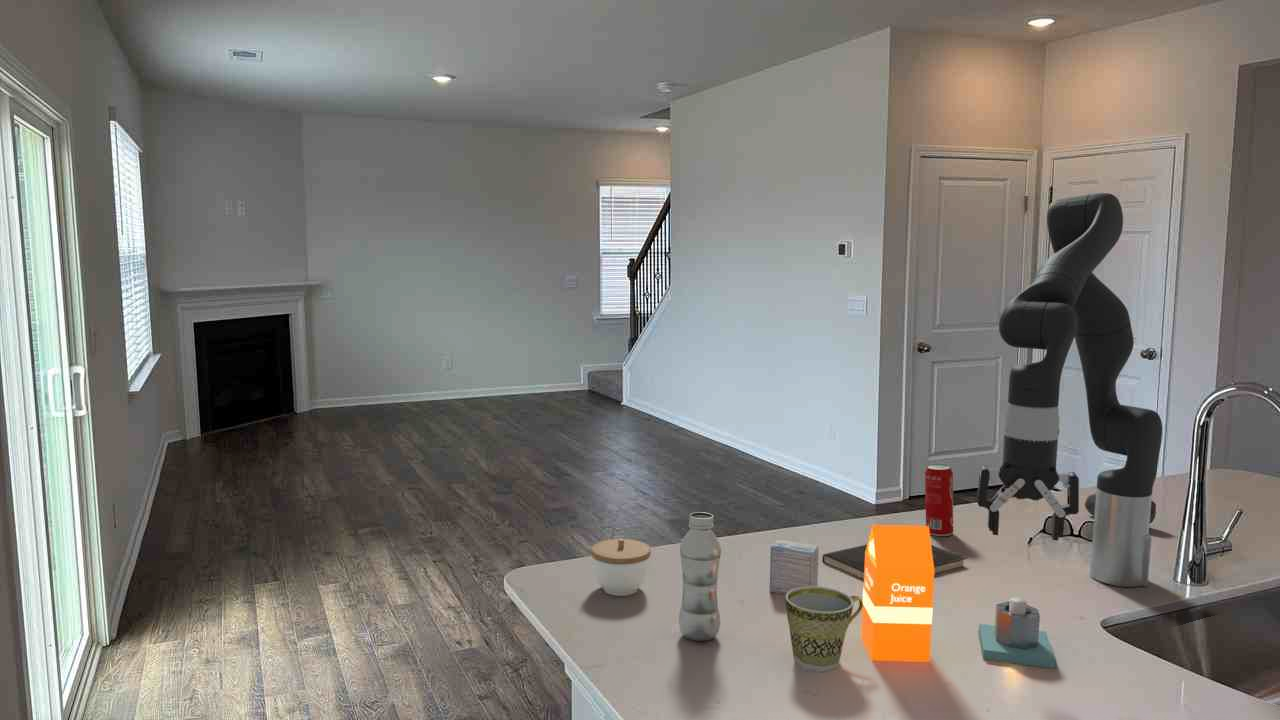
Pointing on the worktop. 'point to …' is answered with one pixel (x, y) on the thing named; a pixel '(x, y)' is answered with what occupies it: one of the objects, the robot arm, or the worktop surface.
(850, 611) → the ceramic cup
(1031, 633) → the tube
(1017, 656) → the shaft stand
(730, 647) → the worktop surface
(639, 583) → the lidded jar
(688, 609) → the plastic bottle
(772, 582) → the medicine box
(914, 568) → the orange juice
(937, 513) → the beverage can
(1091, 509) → the perforated stone tool
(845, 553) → the hardcover book
